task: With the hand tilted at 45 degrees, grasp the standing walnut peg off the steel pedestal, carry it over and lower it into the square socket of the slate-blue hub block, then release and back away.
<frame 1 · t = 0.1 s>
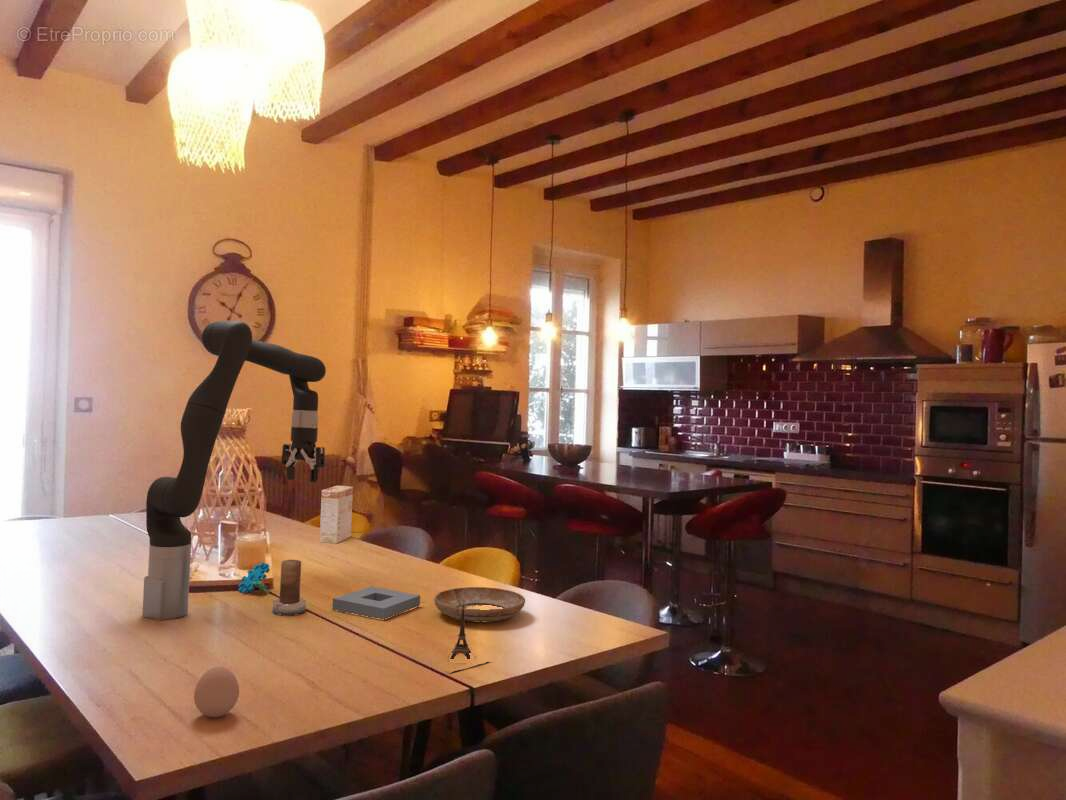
hand: (301, 480, 233), 29 cm above the table, tool pointing down, fingers open, 8 cm apart
ceramic bowl: (479, 616, 205), on the table
egg: (215, 717, 135), on the table
peg: (289, 601, 200), point 2 cm above the table, touching pedestal
hub block: (376, 608, 207), on the table
pedestal: (289, 611, 200), on the table
eiffel tower figurine: (461, 663, 170), on the table
coffeecake box: (335, 540, 297), on the table
blue flower cluster: (254, 592, 218), on the table
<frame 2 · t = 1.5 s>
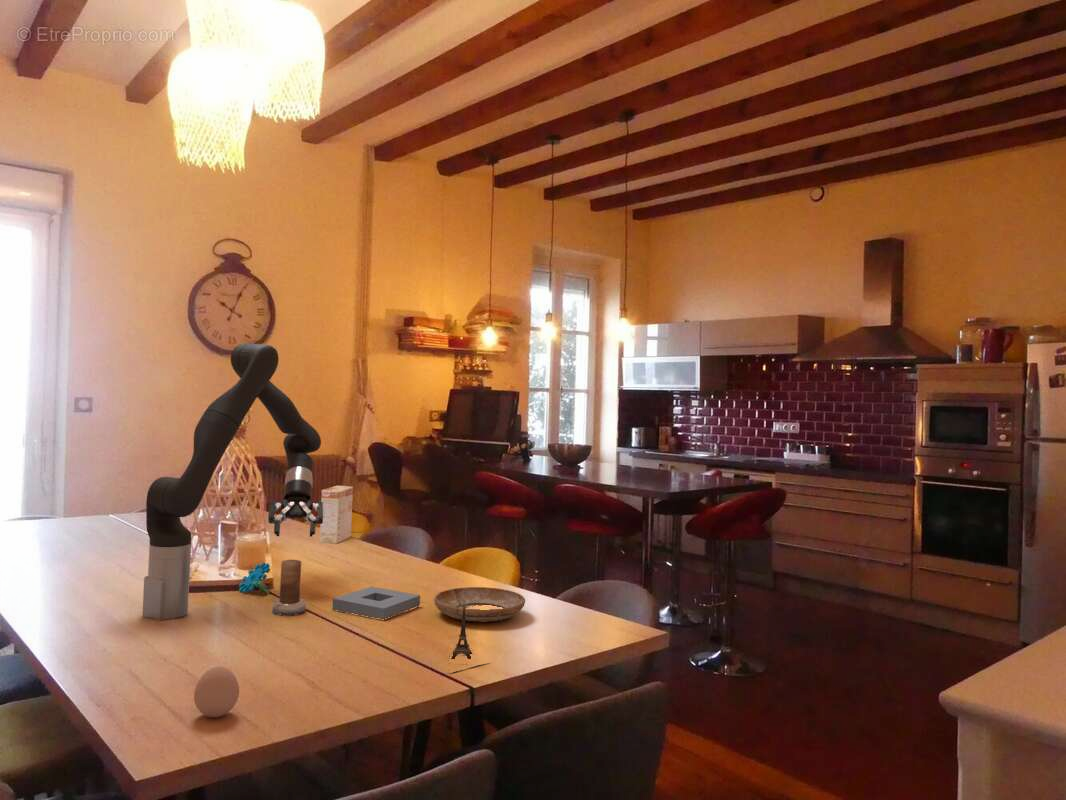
hand: (294, 534, 212), 17 cm above the table, tool tilted 45°, fingers open, 8 cm apart
nothing on the table moved.
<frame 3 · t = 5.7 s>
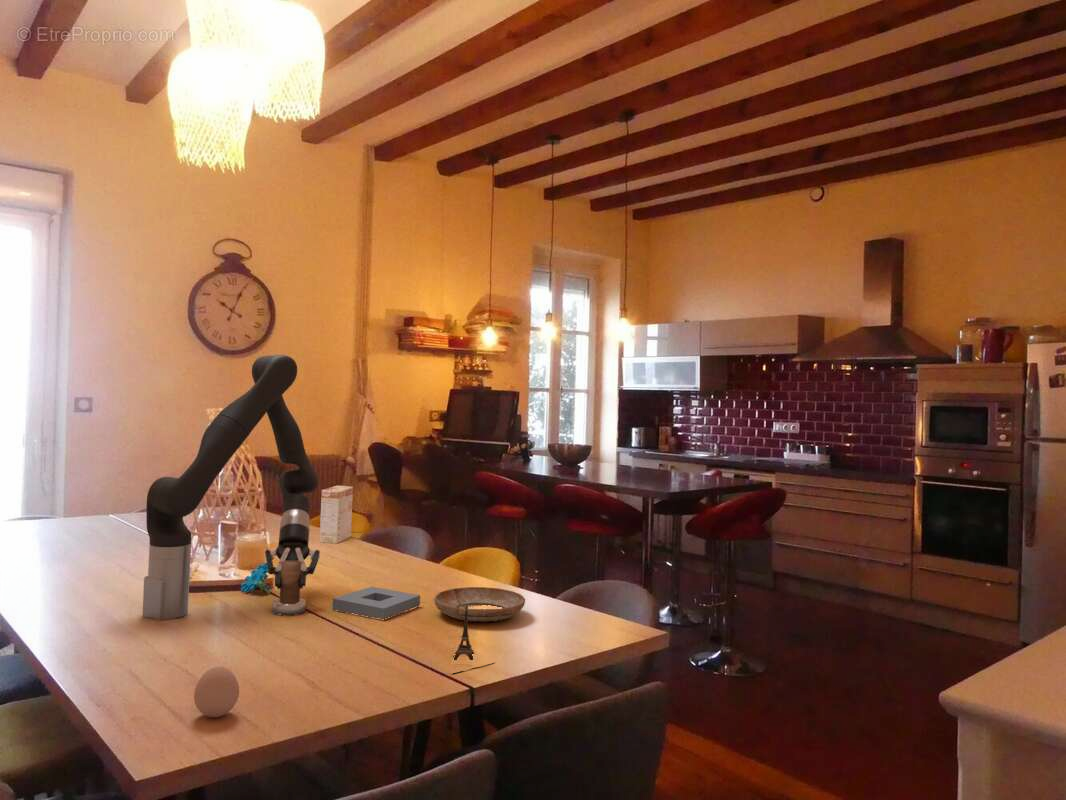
hand: (290, 586, 198), 7 cm above the table, tool tilted 45°, fingers closed on peg, 4 cm apart
peg: (289, 601, 200), point 2 cm above the table, touching gripper, pedestal
when the fingers open (6 cm above the table, at t = 11.7 s): peg drops 1 cm, resting in hub block.
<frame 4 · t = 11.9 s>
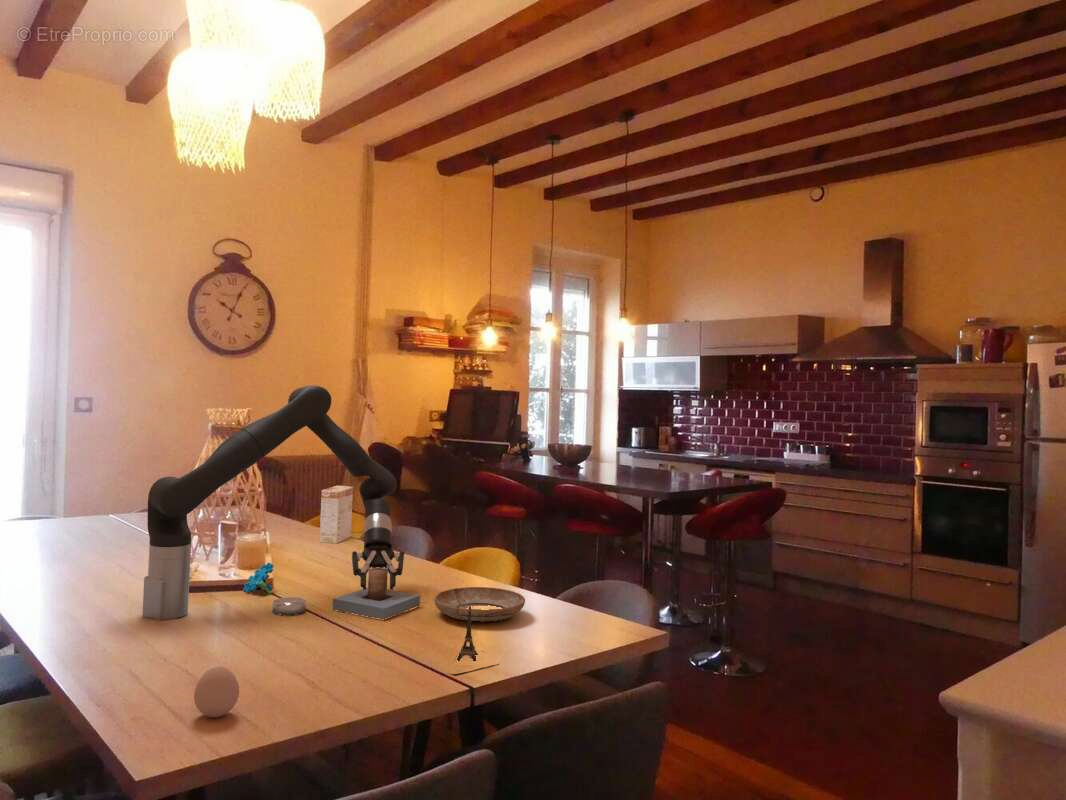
hand: (378, 587, 205), 6 cm above the table, tool tilted 45°, fingers open, 6 cm apart
peg: (376, 608, 207), resting in hub block
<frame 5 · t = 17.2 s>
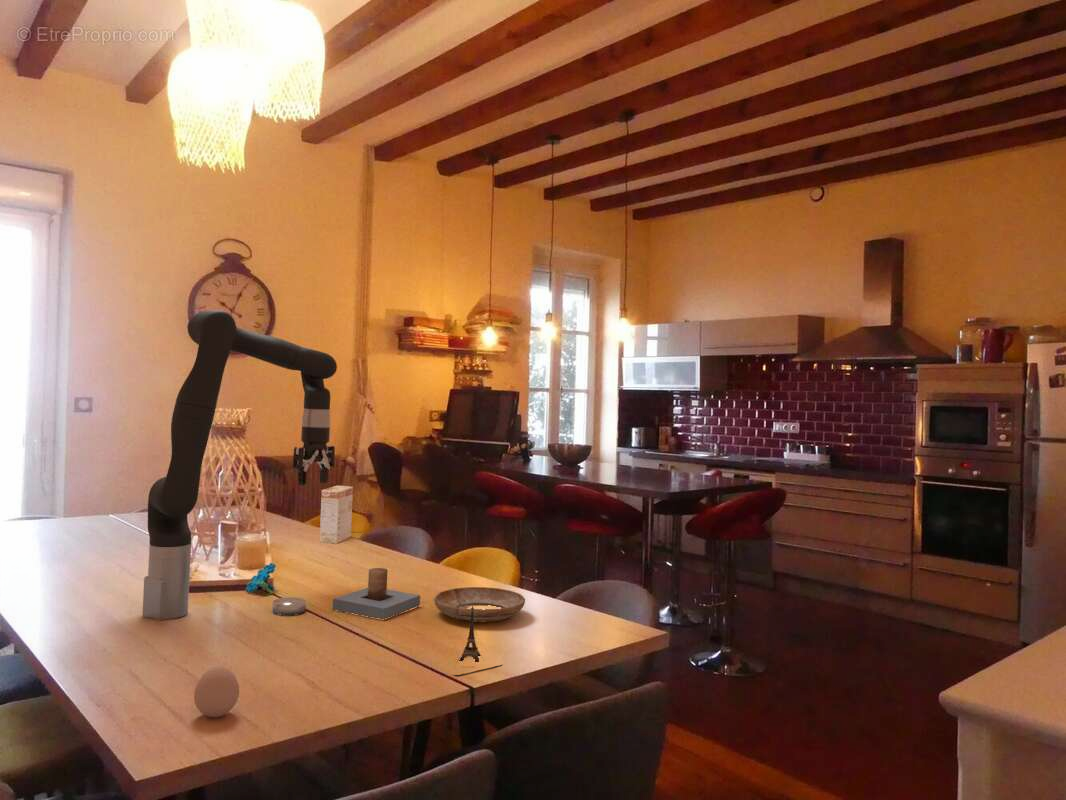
hand: (313, 483, 219), 30 cm above the table, tool pointing down, fingers open, 8 cm apart
at the end: peg 0.2 cm off-centre on the hub block, point 0.0 cm above the hub block's base; peg tilted 0°; the gripper is holding nothing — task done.
